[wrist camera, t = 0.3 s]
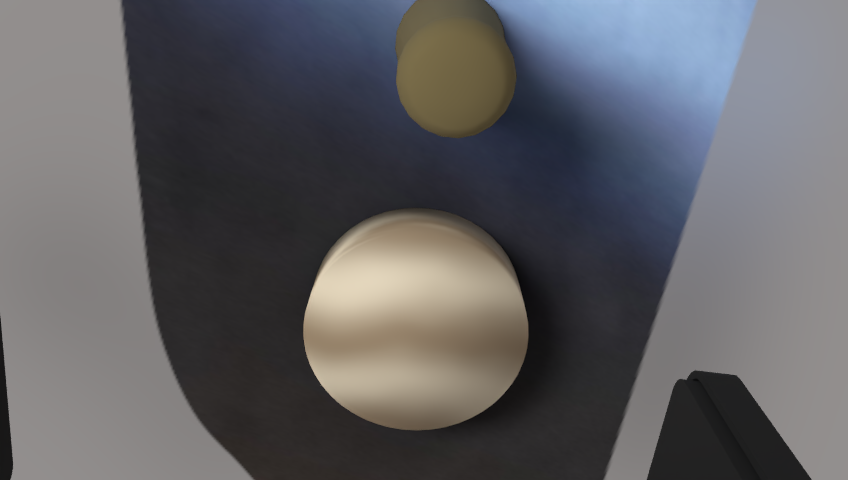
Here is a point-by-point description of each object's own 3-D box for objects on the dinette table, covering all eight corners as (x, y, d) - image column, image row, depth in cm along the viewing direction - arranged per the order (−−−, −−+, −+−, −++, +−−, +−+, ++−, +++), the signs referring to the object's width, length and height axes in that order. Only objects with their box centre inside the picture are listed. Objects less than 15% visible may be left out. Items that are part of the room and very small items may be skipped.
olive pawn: (411, -26, 40) (405, -9, 30) (520, 6, 41) (550, 33, 31) (383, 84, 42) (369, 135, 32) (486, 113, 43) (504, 171, 33)
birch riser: (320, 195, 45) (310, 220, 41) (537, 220, 46) (547, 246, 42) (307, 382, 50) (297, 418, 46) (503, 402, 50) (508, 440, 47)
